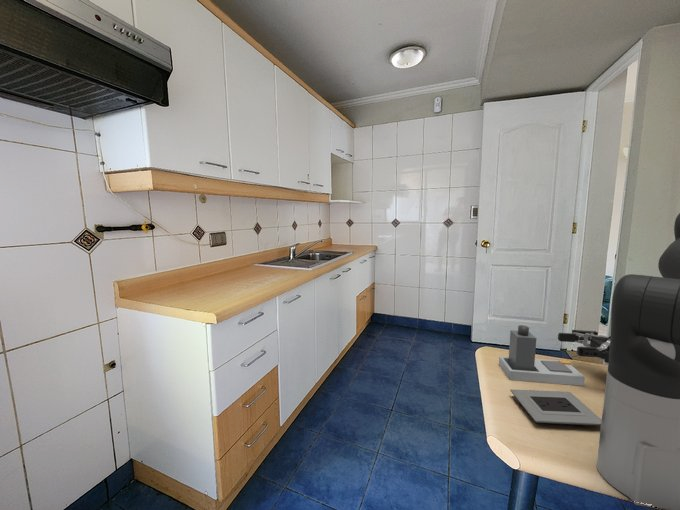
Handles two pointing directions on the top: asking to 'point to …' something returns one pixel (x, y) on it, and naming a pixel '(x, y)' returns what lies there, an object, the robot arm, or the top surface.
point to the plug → (522, 349)
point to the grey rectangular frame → (545, 372)
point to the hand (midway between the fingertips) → (567, 343)
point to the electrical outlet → (556, 407)
